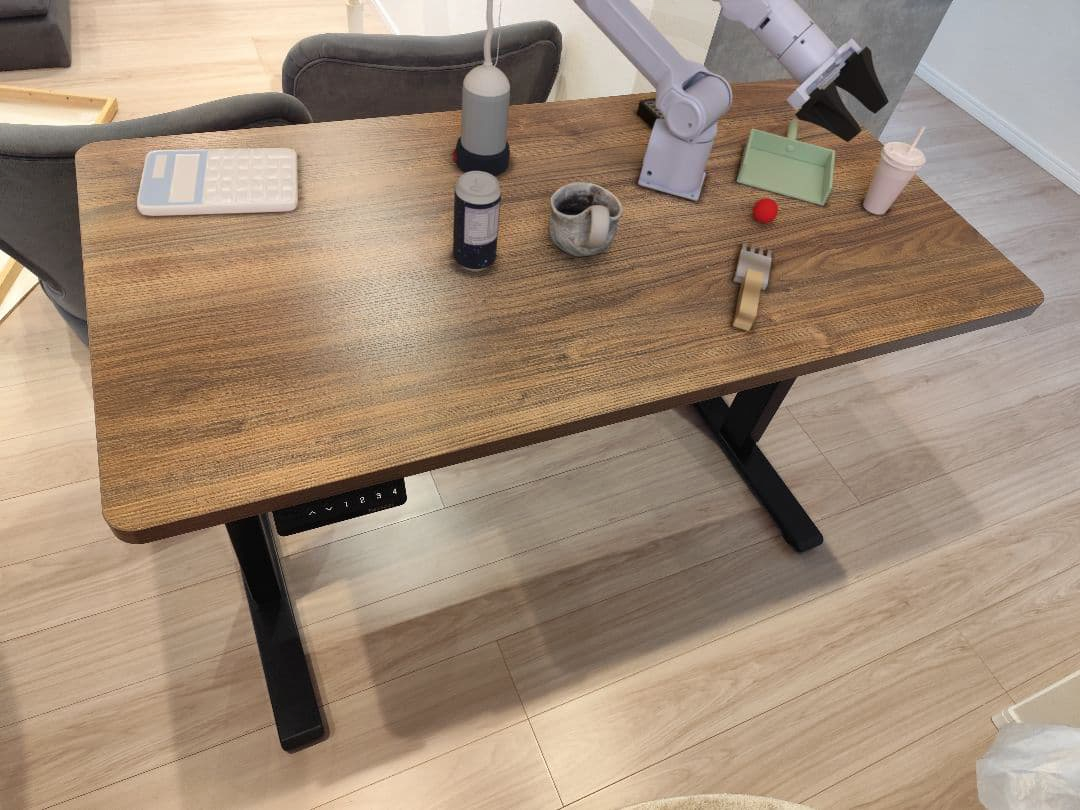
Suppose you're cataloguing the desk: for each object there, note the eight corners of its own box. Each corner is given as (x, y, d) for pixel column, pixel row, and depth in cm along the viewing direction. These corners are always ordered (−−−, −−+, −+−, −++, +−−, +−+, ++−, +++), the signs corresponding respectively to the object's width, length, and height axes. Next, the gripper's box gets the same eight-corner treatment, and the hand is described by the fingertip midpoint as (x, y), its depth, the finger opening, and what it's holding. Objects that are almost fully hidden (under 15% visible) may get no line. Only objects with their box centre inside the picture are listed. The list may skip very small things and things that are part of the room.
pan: (823, 205, 115) (832, 187, 112) (736, 181, 116) (743, 163, 114) (829, 142, 128) (837, 124, 125) (751, 121, 129) (757, 103, 127)
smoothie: (896, 223, 114) (945, 142, 103) (856, 214, 114) (900, 132, 103) (892, 200, 118) (938, 119, 107) (853, 191, 118) (895, 110, 108)
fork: (757, 333, 95) (764, 318, 92) (724, 324, 95) (730, 308, 93) (770, 256, 105) (777, 240, 103) (740, 247, 106) (746, 231, 103)
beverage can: (501, 254, 99) (508, 177, 89) (486, 279, 95) (491, 201, 86) (462, 241, 99) (465, 164, 90) (445, 266, 96) (447, 188, 87)
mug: (598, 220, 106) (612, 159, 98) (632, 277, 99) (649, 216, 91) (535, 227, 103) (544, 165, 95) (565, 287, 96) (577, 224, 88)
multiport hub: (656, 108, 128) (659, 96, 126) (692, 142, 122) (696, 129, 121) (635, 112, 126) (638, 100, 125) (671, 146, 121) (674, 134, 119)
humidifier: (444, 156, 112) (446, -20, 92) (486, 141, 115) (497, -31, 96) (476, 183, 108) (486, 6, 89) (519, 167, 112) (537, -6, 93)
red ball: (748, 224, 110) (756, 203, 107) (751, 210, 112) (759, 190, 109) (771, 230, 109) (780, 210, 106) (774, 217, 111) (782, 197, 109)
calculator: (298, 212, 99) (296, 200, 98) (138, 218, 95) (133, 205, 94) (298, 156, 107) (296, 144, 106) (149, 159, 103) (145, 147, 102)
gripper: (787, 44, 85) (865, 130, 86) (845, -6, 91) (918, 75, 92) (751, 84, 92) (824, 164, 92) (808, 35, 98) (876, 110, 98)
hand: (868, 122), depth 93 cm, fingers open, 7 cm apart
